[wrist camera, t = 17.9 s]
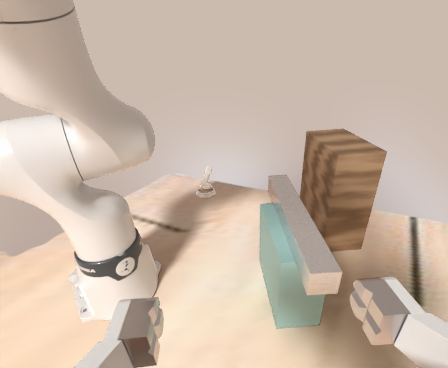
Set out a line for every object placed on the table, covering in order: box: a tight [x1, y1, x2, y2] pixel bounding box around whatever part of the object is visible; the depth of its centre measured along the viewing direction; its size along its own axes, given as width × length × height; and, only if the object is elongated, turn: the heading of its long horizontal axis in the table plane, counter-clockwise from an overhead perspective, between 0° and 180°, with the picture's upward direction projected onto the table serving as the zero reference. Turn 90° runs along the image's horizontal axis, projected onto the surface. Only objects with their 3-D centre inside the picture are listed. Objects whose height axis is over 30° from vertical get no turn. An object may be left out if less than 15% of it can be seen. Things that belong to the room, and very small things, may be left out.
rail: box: [268, 175, 343, 295], centre depth 43 cm, size 28×4×4 cm, turn 1°
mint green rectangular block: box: [260, 203, 326, 329], centre depth 48 cm, size 17×8×16 cm, turn 3°
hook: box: [196, 166, 216, 198], centre depth 91 cm, size 8×12×7 cm
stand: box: [300, 129, 387, 251], centre depth 63 cm, size 18×10×26 cm, turn 3°
